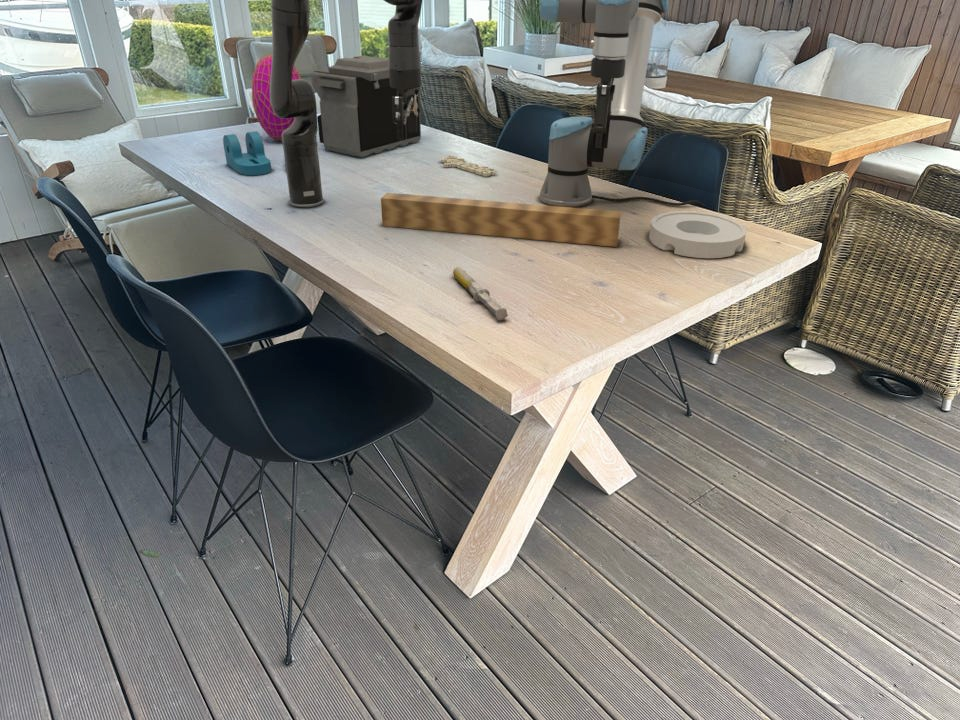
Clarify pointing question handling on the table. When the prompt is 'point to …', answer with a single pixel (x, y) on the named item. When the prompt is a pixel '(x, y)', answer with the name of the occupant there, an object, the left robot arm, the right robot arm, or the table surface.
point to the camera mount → (246, 154)
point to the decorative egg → (268, 99)
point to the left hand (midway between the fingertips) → (407, 136)
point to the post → (501, 219)
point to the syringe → (479, 293)
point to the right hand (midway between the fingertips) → (599, 154)
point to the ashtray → (697, 234)
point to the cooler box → (358, 107)
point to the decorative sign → (467, 166)
